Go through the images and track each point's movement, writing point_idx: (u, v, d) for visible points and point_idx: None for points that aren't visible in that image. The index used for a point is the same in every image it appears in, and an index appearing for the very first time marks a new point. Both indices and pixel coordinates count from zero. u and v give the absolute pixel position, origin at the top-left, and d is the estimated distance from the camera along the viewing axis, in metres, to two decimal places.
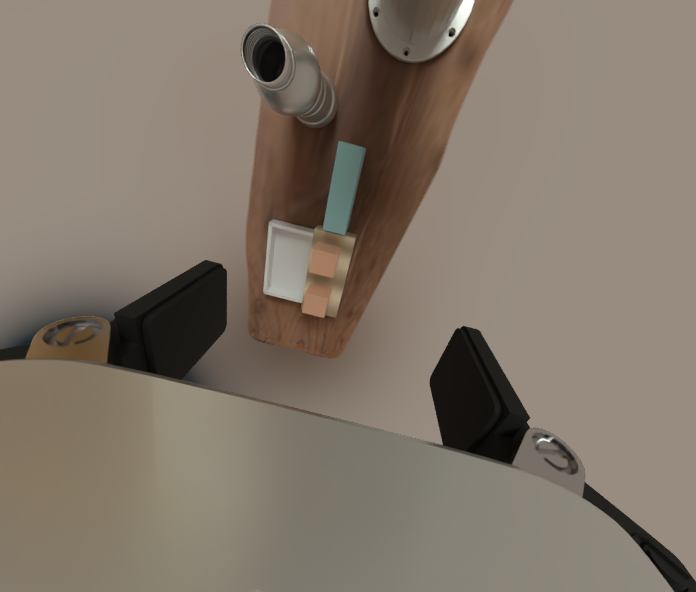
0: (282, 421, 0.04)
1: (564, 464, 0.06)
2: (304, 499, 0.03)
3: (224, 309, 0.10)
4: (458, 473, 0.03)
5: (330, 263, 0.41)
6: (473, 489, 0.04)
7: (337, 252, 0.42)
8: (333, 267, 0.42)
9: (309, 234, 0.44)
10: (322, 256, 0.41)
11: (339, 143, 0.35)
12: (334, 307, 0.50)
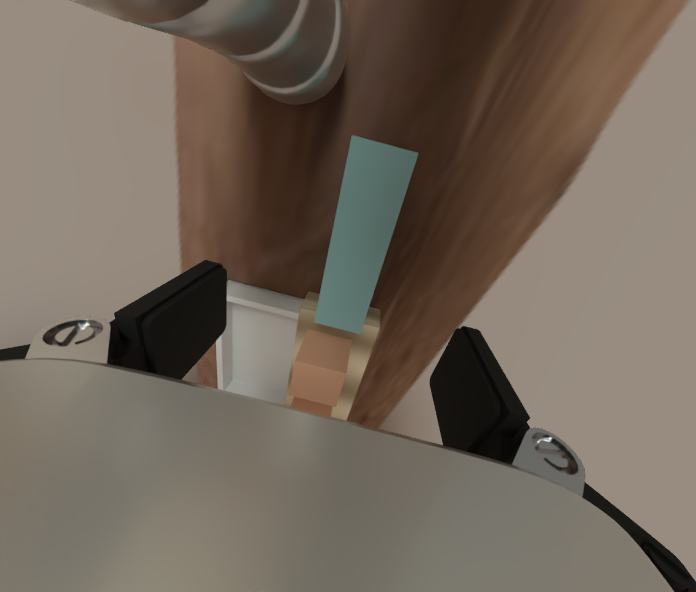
0: (282, 421, 0.04)
1: (564, 464, 0.06)
2: (304, 499, 0.03)
3: (224, 309, 0.10)
4: (458, 473, 0.03)
5: (331, 385, 0.20)
6: (472, 488, 0.04)
7: (345, 361, 0.21)
8: (337, 391, 0.21)
9: (291, 314, 0.23)
10: (314, 373, 0.20)
11: (353, 141, 0.13)
12: None
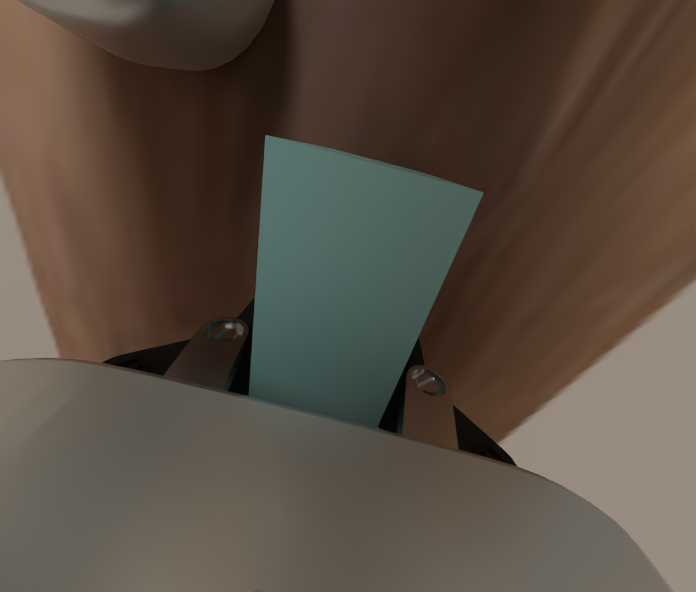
0: (282, 421, 0.04)
1: (436, 386, 0.07)
2: (304, 499, 0.03)
3: None
4: (458, 473, 0.03)
5: None
6: (472, 488, 0.04)
7: None
8: None
9: None
10: None
11: (274, 157, 0.04)
12: None
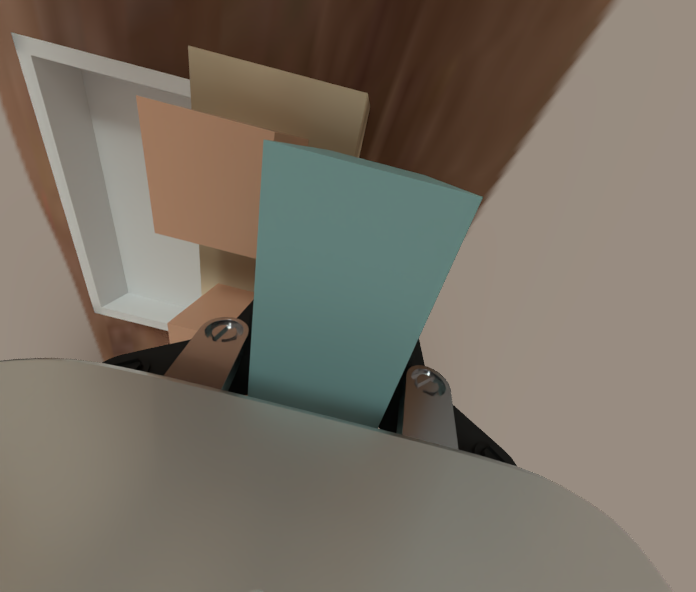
0: (282, 421, 0.04)
1: (436, 387, 0.07)
2: (304, 499, 0.03)
3: None
4: (458, 473, 0.03)
5: (243, 184, 0.08)
6: (473, 489, 0.04)
7: None
8: None
9: (180, 86, 0.11)
10: (196, 143, 0.08)
11: (273, 161, 0.04)
12: None
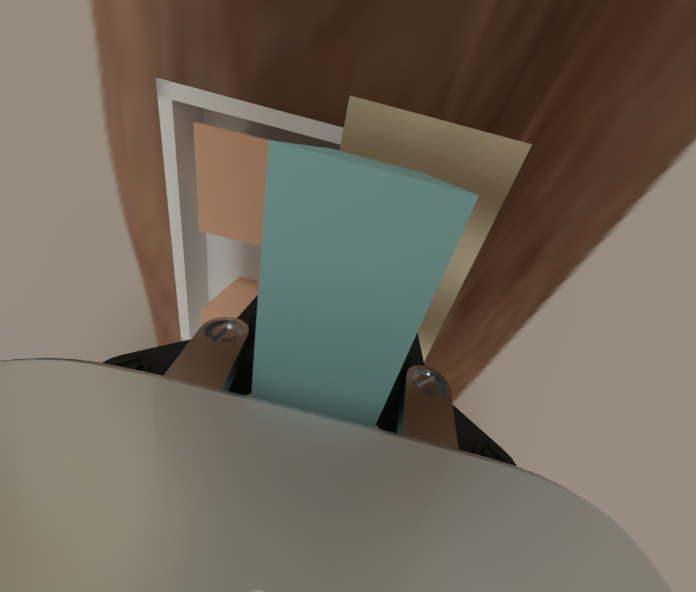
0: (282, 421, 0.04)
1: (436, 387, 0.07)
2: (304, 499, 0.03)
3: None
4: (458, 473, 0.03)
5: None
6: (472, 488, 0.04)
7: (230, 130, 0.10)
8: None
9: (325, 132, 0.11)
10: None
11: (277, 161, 0.04)
12: None
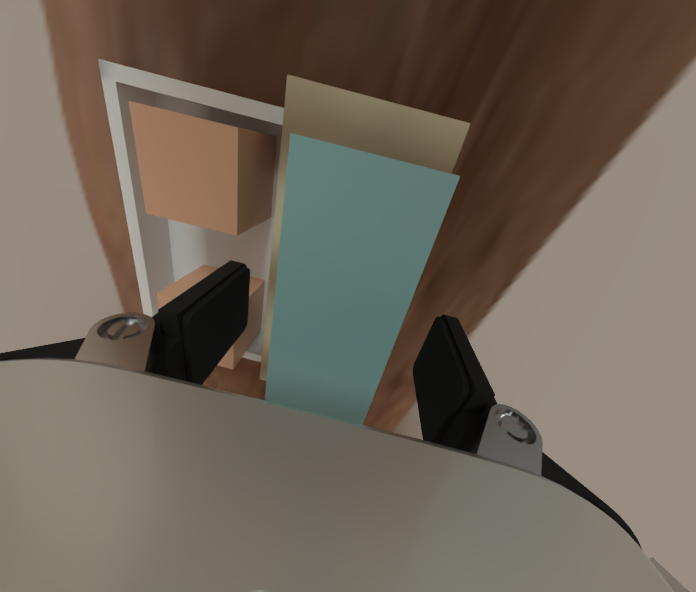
0: (282, 421, 0.04)
1: (525, 435, 0.06)
2: (304, 499, 0.03)
3: (246, 307, 0.11)
4: (458, 473, 0.03)
5: None
6: (473, 488, 0.04)
7: (166, 110, 0.10)
8: None
9: (269, 114, 0.11)
10: None
11: (297, 150, 0.05)
12: None
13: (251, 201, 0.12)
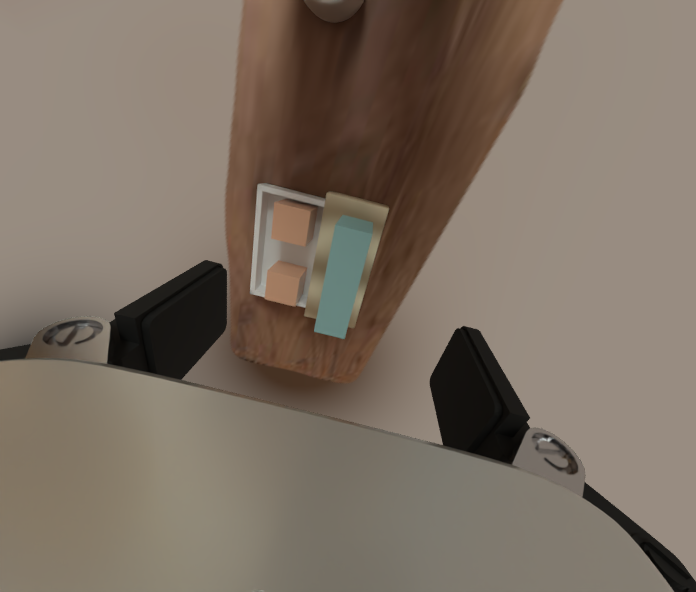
0: (282, 421, 0.04)
1: (564, 464, 0.06)
2: (304, 499, 0.03)
3: (224, 309, 0.10)
4: (458, 473, 0.03)
5: None
6: (473, 489, 0.04)
7: (286, 204, 0.28)
8: (273, 221, 0.29)
9: (318, 203, 0.29)
10: None
11: (336, 228, 0.24)
12: (353, 314, 0.35)
13: (309, 233, 0.30)
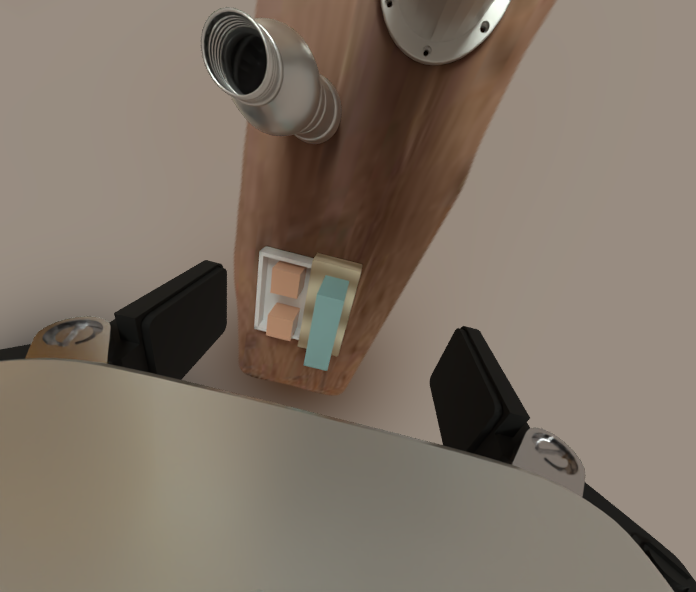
0: (282, 421, 0.04)
1: (564, 464, 0.06)
2: (304, 499, 0.03)
3: (224, 309, 0.10)
4: (458, 473, 0.03)
5: None
6: (473, 489, 0.04)
7: (281, 269, 0.36)
8: None
9: (307, 265, 0.38)
10: None
11: (317, 296, 0.32)
12: (336, 346, 0.43)
13: (300, 287, 0.39)
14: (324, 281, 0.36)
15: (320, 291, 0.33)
